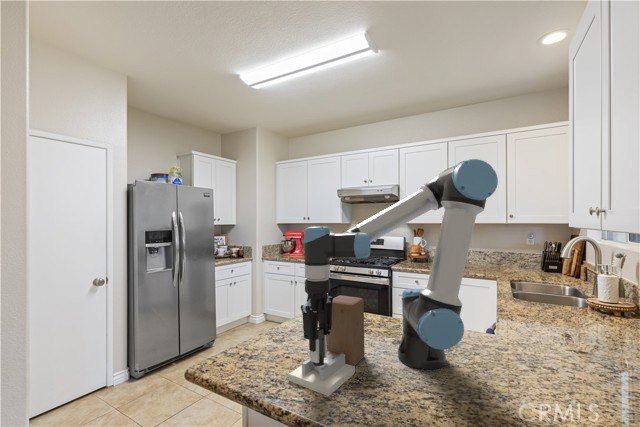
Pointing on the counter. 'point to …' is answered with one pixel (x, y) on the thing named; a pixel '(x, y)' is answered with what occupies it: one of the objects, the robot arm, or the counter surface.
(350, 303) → the wooden block
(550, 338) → the counter surface
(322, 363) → the ram handle
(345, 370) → the base
